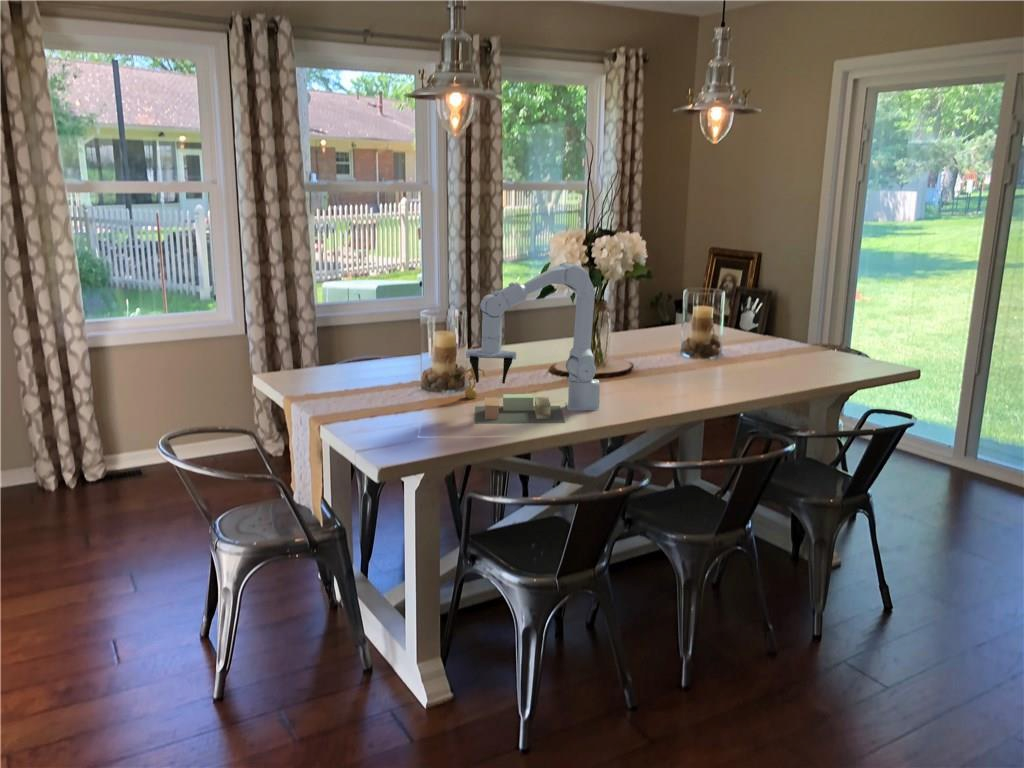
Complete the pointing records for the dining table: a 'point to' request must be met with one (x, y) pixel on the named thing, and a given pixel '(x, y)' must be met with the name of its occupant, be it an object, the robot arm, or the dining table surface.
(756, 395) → the dining table surface
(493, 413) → the tan rectangular block
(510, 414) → the mat
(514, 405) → the sage brick
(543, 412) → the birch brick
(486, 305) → the robot arm
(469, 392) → the figurine
